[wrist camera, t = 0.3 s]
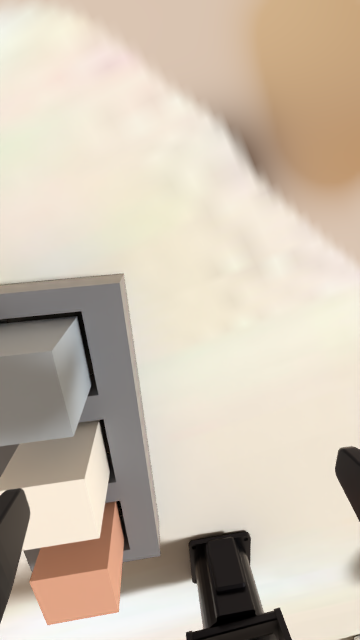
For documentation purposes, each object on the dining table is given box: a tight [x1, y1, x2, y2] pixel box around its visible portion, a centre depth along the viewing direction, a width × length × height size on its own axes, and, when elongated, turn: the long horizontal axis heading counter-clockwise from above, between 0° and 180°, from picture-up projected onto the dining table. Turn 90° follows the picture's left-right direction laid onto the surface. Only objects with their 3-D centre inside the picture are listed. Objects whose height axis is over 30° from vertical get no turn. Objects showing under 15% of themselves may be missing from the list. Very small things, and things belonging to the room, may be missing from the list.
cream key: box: [0, 420, 110, 551], centre depth 19 cm, size 5×5×5 cm
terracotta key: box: [29, 501, 124, 625], centre depth 21 cm, size 5×5×5 cm
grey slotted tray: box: [0, 274, 160, 572], centre depth 22 cm, size 25×11×3 cm, turn 4°
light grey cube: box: [0, 316, 92, 446], centre depth 16 cm, size 5×5×5 cm
